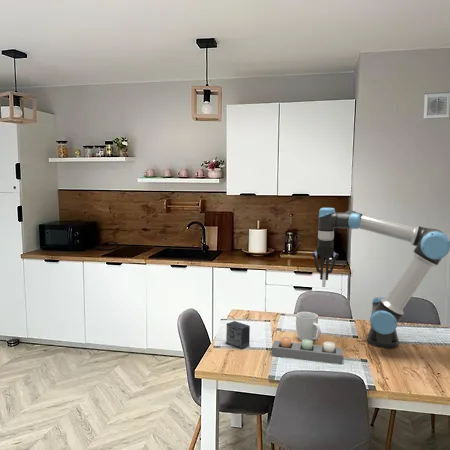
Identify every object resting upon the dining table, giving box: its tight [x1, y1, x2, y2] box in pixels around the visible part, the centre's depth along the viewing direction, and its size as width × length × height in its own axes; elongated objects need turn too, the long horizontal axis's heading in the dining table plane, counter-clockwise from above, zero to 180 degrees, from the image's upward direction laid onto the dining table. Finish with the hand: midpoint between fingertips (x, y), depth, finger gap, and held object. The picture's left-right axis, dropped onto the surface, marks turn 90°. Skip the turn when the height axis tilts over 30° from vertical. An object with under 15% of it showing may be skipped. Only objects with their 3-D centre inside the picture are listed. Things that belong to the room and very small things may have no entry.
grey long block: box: [270, 340, 343, 365], centre depth 202 cm, size 32×9×4 cm, turn 75°
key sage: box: [301, 339, 314, 351], centre depth 202 cm, size 5×5×4 cm
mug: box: [295, 311, 322, 342], centre depth 221 cm, size 15×11×13 cm
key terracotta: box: [279, 336, 292, 348], centre depth 204 cm, size 5×5×4 cm
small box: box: [225, 320, 251, 350], centre depth 214 cm, size 11×6×10 cm, turn 47°
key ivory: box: [323, 341, 336, 353], centre depth 199 cm, size 5×5×4 cm
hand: (323, 286), depth 215 cm, fingers closed
